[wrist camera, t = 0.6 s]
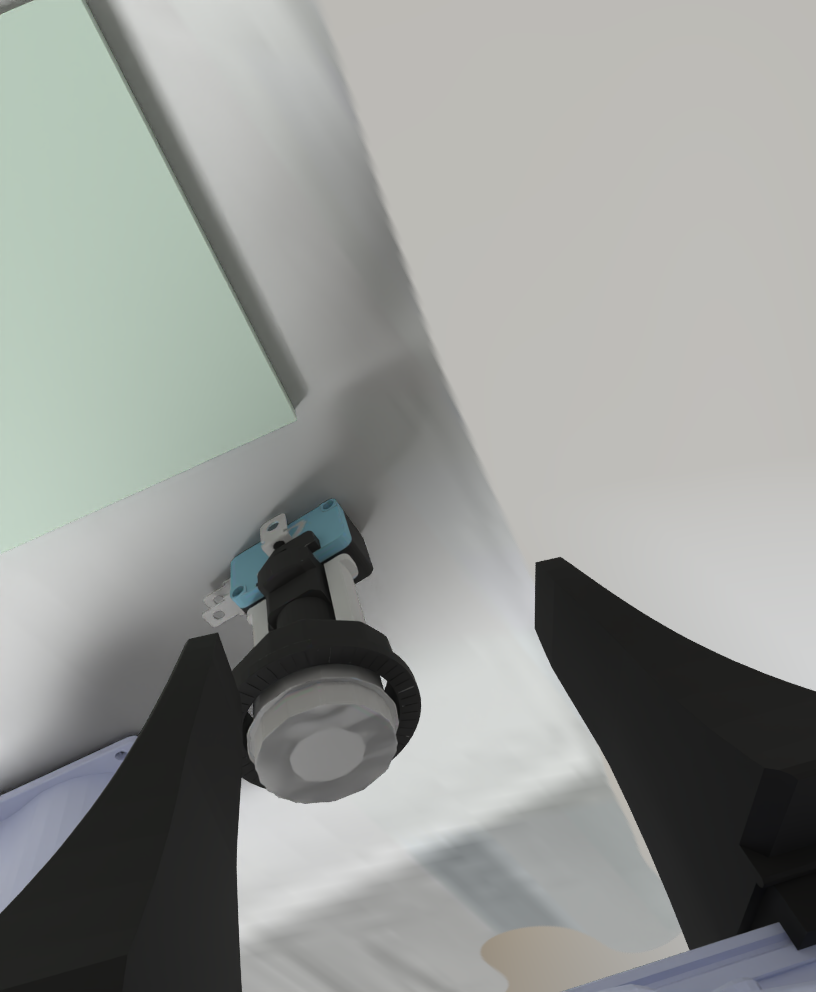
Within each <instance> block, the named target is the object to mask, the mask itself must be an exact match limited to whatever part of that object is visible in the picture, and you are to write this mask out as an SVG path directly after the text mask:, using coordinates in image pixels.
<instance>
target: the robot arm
mask: <svg viewBox="0 0 816 992" xmlns="http://www.w3.org/2000/svg"><path fill="white" fill-rule="evenodd" d="M535 573H536V574H535V630H536V632H537V635H538V637H539V639H540V642H541V644H542V647H543V649H544V651H545V653H546V656H547V658H548V660H549V662H550V664H551V667H552V668H553V670H554V672H555V674H556V675H557V677H558V679H559V680H560V682H561V684H562V685H563V687H564V689H565V690H566V692H567V694H568V696H569V697H570V699H571V700H572V702H573V704H574V705H575V707H576V709H577V710H578V712H579V714H580V715H581V717H582V719H583V720H584V722H585V724H586V725H587V727H588V729H589V730H590V732H591V734H592V735H593V737H594V739H595V740H596V742H597V744H598V745H599V747H600V749H601V751H602V752H603V754H604V756H605V758H606V760H607V761H608V763H609V765H610V767H611V769H612V771H613V773H614V776H615V778H616V780H617V782H618V784H619V786H620V788H621V790H622V792H623V795H624V797H625V799H626V801H627V803H628V805H629V807H630V810H631V812H632V814H633V816H634V818H635V821H636V823H637V825H638V827H639V829H640V832H641V834H642V836H643V838H644V840H645V843H646V845H647V847H648V849H649V852H650V854H651V857H652V859H653V861H654V864H655V866H656V868H657V871H658V873H659V876H660V878H661V880H662V883H663V885H664V887H665V890H666V892H667V894H668V897H669V899H670V902H671V904H672V907H673V909H674V912H675V914H676V917H677V919H678V922H679V924H680V927H681V929H682V932H683V934H684V937H685V939H686V942H687V944H688V947H689V949H690V951H687V952H684V953H680V954H678V955H674V956H671V957H668V958H665V959H662V960H658V961H655V962H652V963H649V964H646V965H643V966H640V967H637V968H633V969H631V970H627V971H624V972H621V973H618V974H615V975H612V976H608V977H605V978H602V979H599V980H596V981H593V982H590V983H587V984H584V985H580V986H577V987H574V988H571V989H568V990H565V991H562V992H816V691H813V690H810V689H806V688H804V687H801V686H798V685H795V684H792V683H789V682H786V681H783V680H781V679H778V678H775V677H773V676H770V675H767V674H764V673H762V672H760V671H757V670H755V669H752V668H750V667H748V666H745V665H743V664H740V663H738V662H735V661H733V660H731V659H729V658H726V657H724V656H722V655H720V654H718V653H716V652H714V651H711V650H709V649H707V648H705V647H703V646H701V645H699V644H697V643H695V642H693V641H691V640H689V639H687V638H685V637H683V636H682V635H680V634H678V633H676V632H674V631H673V630H671V629H669V628H667V627H666V626H664V625H662V624H661V623H659V622H657V621H655V620H654V619H652V618H650V617H649V616H647V615H645V614H643V613H642V612H640V611H639V610H637V609H636V608H634V607H633V606H631V605H629V604H628V603H626V602H625V601H623V600H622V599H620V598H619V597H617V596H616V595H614V594H613V593H611V592H610V591H608V590H607V589H606V588H604V587H602V586H601V585H600V584H598V583H597V582H595V581H594V580H593V579H591V578H590V577H588V576H587V575H586V574H584V573H583V572H581V571H580V570H578V569H577V568H575V567H574V566H573V565H572V564H570V563H569V562H567V561H566V560H564V559H563V558H561V557H558V558H554V559H550V560H545V561H540V562H536V572H535ZM121 751H122V752H124V753H121ZM242 757H243V725H242V709H241V697H240V694H239V691H238V688H237V685H236V683H235V680H234V677H233V674H232V671H231V668H230V666H229V663H228V660H227V657H226V654H225V651H224V649H223V646H222V643H221V640H220V637H219V634H218V633H214V634H210V635H205V636H201V637H196V638H192V639H189V640H188V641H187V642H186V644H185V646H184V648H183V650H182V652H181V654H180V657H179V659H178V661H177V663H176V665H175V667H174V670H173V672H172V674H171V676H170V678H169V680H168V682H167V684H166V686H165V688H164V690H163V692H162V694H161V696H160V697H159V699H158V701H157V703H156V705H155V707H154V709H153V711H152V712H151V714H150V716H149V718H148V720H147V722H146V723H145V725H144V727H143V729H142V730H141V732H140V734H139V735H138V736H130V737H127V738H125V739H122V740H120V741H118V742H116V743H114V744H112V745H109V746H107V747H105V748H103V749H101V750H99V751H96V752H94V753H92V754H90V755H88V756H86V757H83V758H81V759H79V760H77V761H75V762H73V763H70V764H68V765H66V766H64V767H62V768H60V769H57V770H55V771H53V772H51V773H49V774H47V775H44V776H42V777H40V778H38V779H36V780H34V781H31V782H29V783H27V784H25V785H23V786H21V787H18V788H16V789H14V790H12V791H10V792H8V793H5V794H3V795H1V796H0V992H242V985H241V968H240V947H239V925H238V898H237V867H236V866H237V836H238V821H239V805H240V790H241V774H242Z"/></svg>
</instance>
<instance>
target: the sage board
mask: <svg viewBox="0 0 816 992" xmlns="http://www.w3.org/2000/svg"><path fill="white" fill-rule="evenodd" d="M295 421H297V418H296V414H295V410H294V408H293V406H292V404H291V402H290V400H289V398H288V396H287V394H286V392H285V390H284V388H283V386H282V384H281V382H280V380H279V378H278V376H277V374H276V373H275V371H274V369H273V367H272V365H271V363H270V361H269V359H268V357H267V355H266V353H265V351H264V349H263V347H262V345H261V343H260V341H259V339H258V337H257V335H256V333H255V331H254V329H253V328H252V326H251V324H250V322H249V320H248V318H247V316H246V314H245V312H244V310H243V308H242V306H241V304H240V302H239V300H238V298H237V296H236V294H235V292H234V290H233V288H232V286H231V284H230V283H229V281H228V279H227V277H226V275H225V273H224V271H223V269H222V267H221V265H220V263H219V261H218V259H217V257H216V255H215V253H214V251H213V249H212V247H211V245H210V243H209V241H208V240H207V238H206V236H205V234H204V232H203V230H202V228H201V226H200V224H199V222H198V220H197V218H196V216H195V214H194V212H193V210H192V208H191V206H190V204H189V202H188V200H187V198H186V196H185V195H184V193H183V191H182V189H181V187H180V185H179V183H178V181H177V179H176V177H175V175H174V173H173V171H172V169H171V167H170V165H169V163H168V161H167V159H166V157H165V155H164V153H163V151H162V150H161V148H160V146H159V144H158V142H157V140H156V138H155V136H154V134H153V132H152V130H151V128H150V126H149V124H148V122H147V120H146V118H145V116H144V114H143V112H142V110H141V108H140V107H139V105H138V103H137V101H136V99H135V97H134V95H133V93H132V91H131V89H130V87H129V85H128V83H127V81H126V79H125V77H124V75H123V73H122V71H121V69H120V67H119V65H118V63H117V62H116V60H115V58H114V56H113V54H112V52H111V50H110V48H109V46H108V44H107V42H106V40H105V38H104V36H103V34H102V32H101V30H100V28H99V26H98V24H97V22H96V20H95V18H94V17H93V15H92V13H91V11H90V9H89V7H88V5H87V3H86V1H85V0H33V1H31V2H28V3H26V4H24V5H21V6H19V7H17V8H14V9H12V10H10V11H7V12H5V13H3V14H0V554H2V553H4V552H7V551H9V550H11V549H13V548H15V547H18V546H20V545H22V544H24V543H27V542H29V541H31V540H33V539H35V538H38V537H40V536H42V535H44V534H47V533H49V532H51V531H53V530H55V529H58V528H60V527H62V526H64V525H67V524H69V523H71V522H73V521H75V520H78V519H80V518H82V517H84V516H86V515H89V514H91V513H93V512H95V511H98V510H100V509H102V508H104V507H106V506H109V505H111V504H113V503H115V502H118V501H120V500H122V499H124V498H126V497H129V496H131V495H133V494H135V493H137V492H140V491H142V490H144V489H146V488H149V487H151V486H153V485H155V484H157V483H160V482H162V481H164V480H166V479H169V478H171V477H173V476H175V475H177V474H180V473H182V472H184V471H186V470H188V469H191V468H193V467H195V466H197V465H200V464H202V463H204V462H206V461H208V460H211V459H213V458H215V457H217V456H220V455H222V454H224V453H226V452H228V451H231V450H233V449H235V448H237V447H240V446H242V445H244V444H246V443H248V442H251V441H253V440H255V439H257V438H259V437H262V436H264V435H266V434H268V433H271V432H273V431H275V430H277V429H279V428H282V427H284V426H286V425H288V424H291V423H293V422H295Z"/></svg>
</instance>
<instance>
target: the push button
mask: <svg viewBox="0 0 816 992" xmlns="http://www.w3.org/2000/svg"><path fill="white" fill-rule="evenodd" d="M275 523H278V526H277V527H276V528H275V529H273V530H272V531H268V529H269V528H270V527H271V526H272V525H273V524H275ZM260 539H261V542H259V543H257V544H256V545H254V546H252V547H251V548H249V549H247V550H246V551H244V552H243V553H241V554H239V555H238V556H236V557H235V558H234V559H233V560H232V562H231V578H229V579H228V580H226V581H224V584H225V586H223V587H221V588H220V589H218V590H216V591H215V592H213V593H211V594H210V595H208V596H206V597H205V598H204V599H203V602H204V603H205V604H206V605H207V606H208V607H209V608H210V609H209V610H207V611H205V612H204V613H203V614H202V617H203V618H204V619H205V620H206V621H207V622H208V623H209V624H210V625H211V626H212V627H217V626H219V625H221V624H222V623H224V622H226V621H227V620H229V619H231V618H232V617H234V616H236V615H237V614H239V615H240V616H242V615H244V614H246V615H247V621H248V623H249V624H250V625H251V626H252V627H253V643H254V648H253V649H252V650H251V651H250V652H249V653H248V655H247V656H246V657H245V658H244V659H243V660H242V661H241V662H240V663H239V664H238V665H237V666H236V667H235V668H234V669H233V671H232V674H233V677H234V680H235V683H236V685H237V688H238V691H239V694H240V697H241V709H242V725H243V757H242V774H241V777H242V778H243V779H245V780H247V781H248V782H250V783H252V784H254V785H257V786H259V787H262V788H265V789H267V790H268V791H269V792H272V793H274V794H275V795H276V796H277V797H278V798H283V799H287V800H290V801H293V802H295V803H304V804H308V803H319V802H332V801H336V800H339V799H341V798H344V797H346V796H349V795H351V794H354V793H356V792H359V791H361V790H364V789H365V788H366V787H367V786H369V785H370V784H371V783H372V782H374V781H375V780H376V779H377V778H378V777H380V776H381V775H382V774H383V773H385V772H386V770H387V769H388V767H389V765H390V762H391V760H393V759H394V758H395V757H396V756H397V755H398V754H399V753H400V752H401V751H402V750H403V748H404V747H405V746H406V745H407V743H408V742H409V740H410V739H411V737H412V736H413V734H414V732H415V730H416V727H417V724H418V722H419V718H420V713H421V697H420V693H419V689H418V686H417V683H416V681H415V678H414V676H413V674H412V672H411V670H410V668H409V667H408V666H407V664H406V663H405V662H404V661H403V660H402V659H401V658H400V657H399V656H398V655H396V654H395V653H393V651H392V649H391V646H390V644H389V641H388V639H387V637H386V636H385V635H384V634H382V633H380V632H379V631H377V630H375V629H373V628H372V627H370V626H368V625H367V624H366V623H365V620H364V616H363V613H362V609H361V605H360V602H359V598H358V595H357V591H356V588H355V584H356V583H358V582H359V581H361V580H363V579H364V578H366V577H368V576H369V575H370V574H371V573H372V571H373V566H372V563H371V560H370V557H369V554H368V551H367V548H366V545H365V542H364V539H363V537H362V536H361V534H360V533H359V531H358V530H357V529H356V527H355V526H354V525H353V523H352V522H351V521H350V519H349V518H348V516H347V515H346V514H345V512H344V511H343V509H342V508H341V507H340V505H339V504H338V503H337V501H336V500H335V499H330V500H327V501H326V502H324V503H322V504H321V505H320V506H319V507H317V508H315V509H314V510H312V511H310V512H309V513H307V514H305V515H304V516H302V517H301V518H299V519H297V520H296V521H294V522H292V523H291V524H289V525H287V520H286V515H285V514H279V515H278V516H276V517H274V518H273V519H271V520H269V521H268V522H266V523H264V524H263V525H262V527H261V528H260ZM217 596H222V597H223V598H224V599H225V600H224V601H222V602H220V603H216V602H215V601H214V598H215V597H217ZM218 611H222V612H223V613H224V616H223V617H222V618H215V617H214V616H213V614H214V612H218ZM380 676H382V677H383V678H384V679H385V680H387V684H386V687H385V690H384V689H383V685H382V682H381V678H380ZM252 703H253V716H254V719H253V718H252V717H251V715H250V714H249V713H248V709H249V707H250V706H251V704H252Z"/></svg>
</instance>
